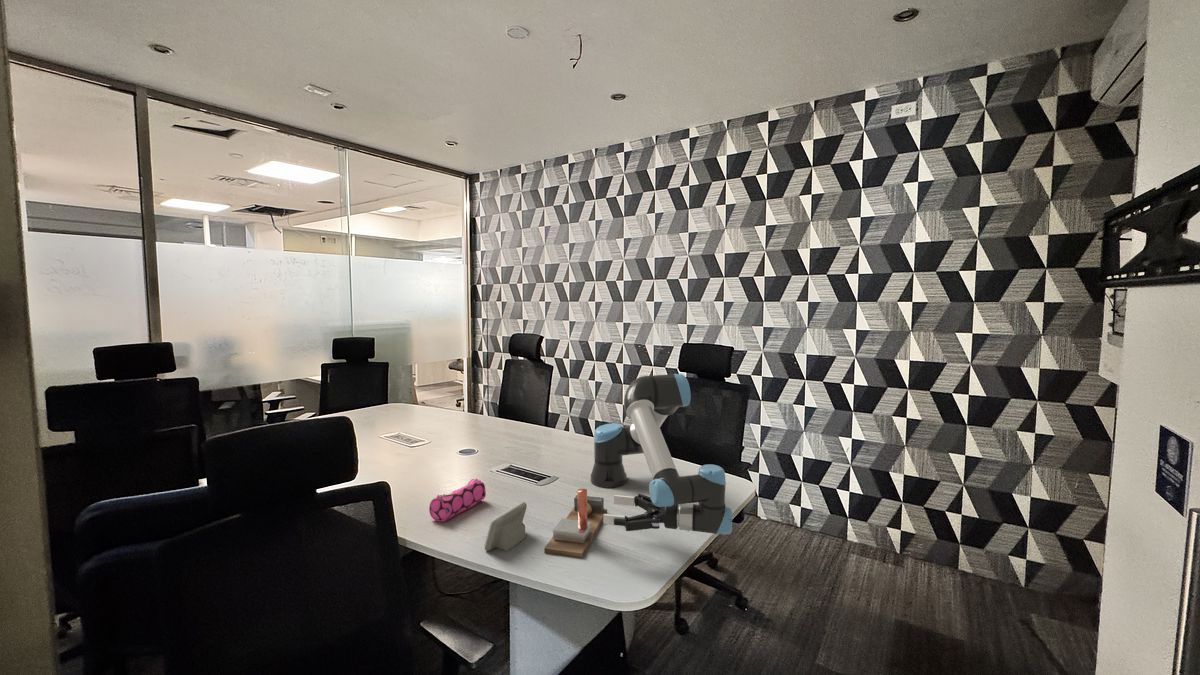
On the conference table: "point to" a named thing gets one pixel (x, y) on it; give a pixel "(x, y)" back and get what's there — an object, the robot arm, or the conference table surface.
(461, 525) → the conference table surface
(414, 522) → the conference table surface
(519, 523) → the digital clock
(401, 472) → the conference table surface
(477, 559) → the conference table surface
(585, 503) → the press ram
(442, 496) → the pencil case
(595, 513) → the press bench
